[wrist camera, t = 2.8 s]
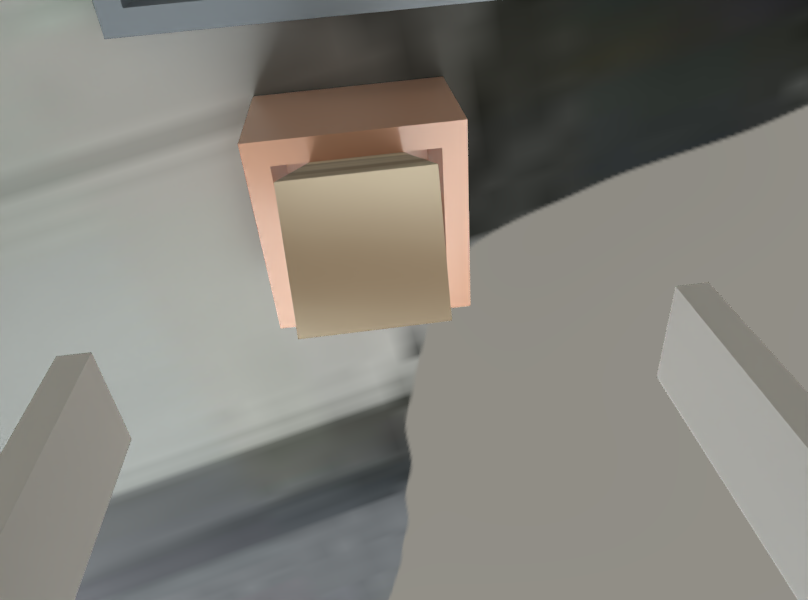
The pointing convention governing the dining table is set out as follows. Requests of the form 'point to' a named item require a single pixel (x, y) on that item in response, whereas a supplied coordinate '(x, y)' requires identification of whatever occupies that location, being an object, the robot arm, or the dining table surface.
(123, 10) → the slate tray
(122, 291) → the dining table surface
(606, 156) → the dining table surface
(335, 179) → the light wooden bar
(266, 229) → the pink open cubby
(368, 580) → the dining table surface
